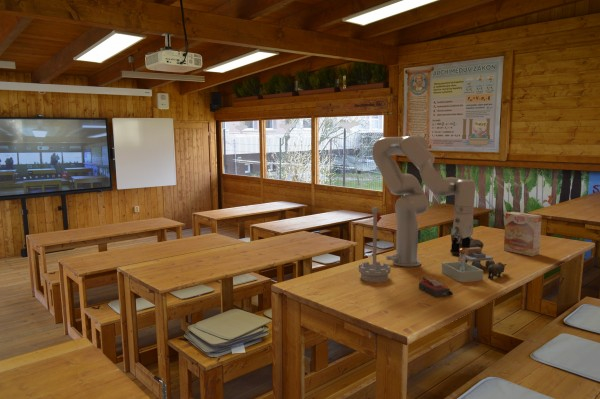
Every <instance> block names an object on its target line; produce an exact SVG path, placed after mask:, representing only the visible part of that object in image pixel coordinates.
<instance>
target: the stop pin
mask: <svg viewBox="0 0 600 399" xmlns="http://www.w3.org/2000/svg"><path fill="white" fill-rule="evenodd" d="M459 252H460V255H459V256H460V258H459V257H458V259H459V261H458V262H459V271H461V272H465V260H466V252H468V249H466V248H459Z"/></svg>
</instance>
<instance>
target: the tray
mask: <svg viewBox="0 0 600 399" xmlns="http://www.w3.org/2000/svg"><path fill="white" fill-rule="evenodd" d="M441 273H442V274H444V275H446V276H447V277H449V278H452V279H454V280H456V281H457V282H459V283H465V282H468V281H469V282H475V281H476V282H477V281H483V279H484V270H483V269H482V268H481V269H479V268H477V267H475V266H472V264H470V263H468V262H467V263H466V262H465V272H461V271H459V261H450V262H441Z"/></svg>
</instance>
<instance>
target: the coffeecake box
mask: <svg viewBox="0 0 600 399" xmlns="http://www.w3.org/2000/svg"><path fill="white" fill-rule="evenodd" d="M542 220H543V218H542V215H540V214H532V213H525V212H517V211H510V212H509V211H507V212H505V219H504V237H503V239H504V241H503V251H504V252H511V253H514V254H518V255H519V254H520V255H526V256H530V257H534V256H537V255H540V246H541V245H540V244H541V231H542Z"/></svg>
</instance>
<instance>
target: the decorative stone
mask: <svg viewBox="0 0 600 399" xmlns="http://www.w3.org/2000/svg"><path fill="white" fill-rule="evenodd" d="M457 239H458V238H457ZM462 240H463V238H461V239H460V241H459V243H460V247H459V248H464V247H462ZM472 247H480V248H482V249H483V248H484V242H482V240H480V239H475V238H473V237H471V239H470V248H472ZM449 252H450V253H451V254H452V255H454V254H455V256H460V252H459V253H456V252H452V251H451V249H450V250H449Z"/></svg>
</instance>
